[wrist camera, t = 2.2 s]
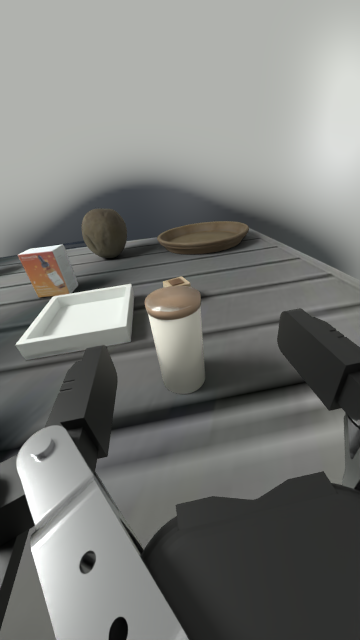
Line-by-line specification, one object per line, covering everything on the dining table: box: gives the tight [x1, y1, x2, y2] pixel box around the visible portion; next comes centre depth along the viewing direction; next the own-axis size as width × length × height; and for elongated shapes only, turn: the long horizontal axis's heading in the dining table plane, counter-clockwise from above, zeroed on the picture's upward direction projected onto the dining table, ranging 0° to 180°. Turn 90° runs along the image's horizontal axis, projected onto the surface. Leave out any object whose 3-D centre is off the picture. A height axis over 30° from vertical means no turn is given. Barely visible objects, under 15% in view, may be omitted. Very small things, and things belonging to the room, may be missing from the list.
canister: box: [145, 286, 205, 394], centre depth 24 cm, size 5×5×11 cm
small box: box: [18, 245, 78, 298], centre depth 52 cm, size 8×6×10 cm
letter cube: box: [163, 277, 190, 287], centre depth 43 cm, size 4×4×4 cm
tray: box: [16, 284, 134, 360], centre depth 40 cm, size 16×16×3 cm
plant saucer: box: [157, 221, 249, 254], centre depth 77 cm, size 31×31×5 cm
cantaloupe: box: [82, 209, 127, 258], centre depth 73 cm, size 14×14×15 cm
